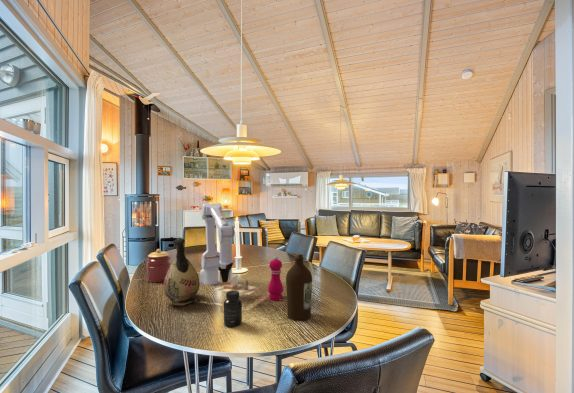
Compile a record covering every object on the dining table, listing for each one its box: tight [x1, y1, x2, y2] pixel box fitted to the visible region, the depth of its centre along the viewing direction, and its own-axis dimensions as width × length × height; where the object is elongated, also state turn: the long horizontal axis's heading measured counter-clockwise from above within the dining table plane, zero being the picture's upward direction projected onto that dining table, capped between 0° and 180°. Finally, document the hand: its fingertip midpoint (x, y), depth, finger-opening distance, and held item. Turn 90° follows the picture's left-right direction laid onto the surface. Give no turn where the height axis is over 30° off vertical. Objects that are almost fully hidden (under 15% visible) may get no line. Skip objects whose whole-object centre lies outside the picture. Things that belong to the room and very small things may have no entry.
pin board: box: [214, 279, 261, 296], centre depth 149 cm, size 20×12×6 cm, turn 68°
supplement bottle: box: [223, 291, 243, 328], centre depth 112 cm, size 7×7×12 cm
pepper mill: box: [267, 256, 284, 302], centre depth 139 cm, size 7×7×20 cm
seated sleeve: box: [224, 273, 239, 289], centre depth 151 cm, size 5×5×6 cm
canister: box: [145, 248, 172, 283], centre depth 170 cm, size 13×13×18 cm
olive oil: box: [285, 253, 313, 322], centre depth 119 cm, size 11×11×25 cm
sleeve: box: [219, 268, 233, 286], centre depth 138 cm, size 5×5×6 cm
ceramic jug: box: [163, 237, 201, 306], centre depth 133 cm, size 17×15×30 cm
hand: (225, 280), depth 138 cm, fingers closed on sleeve, 5 cm apart
